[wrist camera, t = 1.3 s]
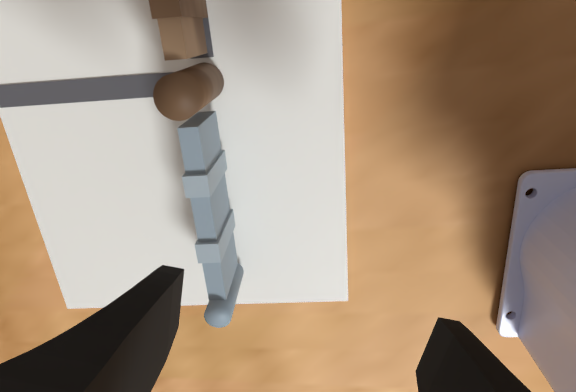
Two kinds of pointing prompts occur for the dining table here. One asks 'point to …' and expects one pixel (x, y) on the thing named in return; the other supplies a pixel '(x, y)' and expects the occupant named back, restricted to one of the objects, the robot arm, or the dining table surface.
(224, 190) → the fence folding panel
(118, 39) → the card
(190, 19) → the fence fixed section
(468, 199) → the dining table surface
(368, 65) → the dining table surface
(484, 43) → the dining table surface
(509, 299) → the robot arm
